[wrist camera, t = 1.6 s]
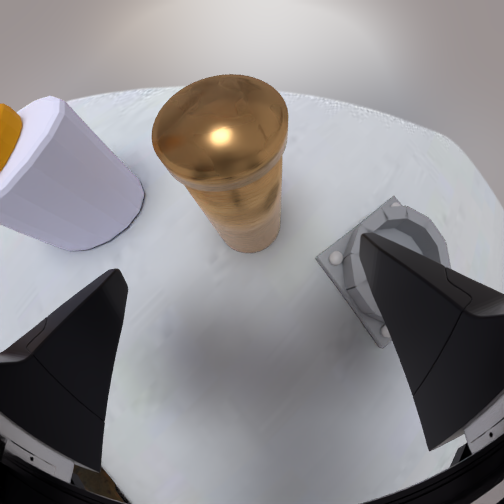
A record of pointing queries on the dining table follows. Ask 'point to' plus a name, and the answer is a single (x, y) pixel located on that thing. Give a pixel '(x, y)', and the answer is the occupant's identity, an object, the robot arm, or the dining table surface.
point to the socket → (350, 268)
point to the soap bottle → (62, 178)
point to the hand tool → (97, 482)
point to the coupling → (228, 154)
